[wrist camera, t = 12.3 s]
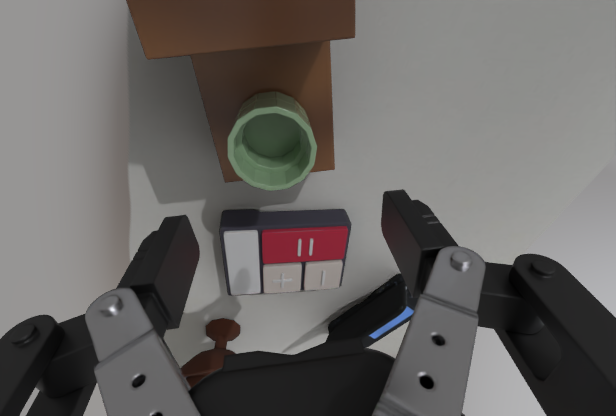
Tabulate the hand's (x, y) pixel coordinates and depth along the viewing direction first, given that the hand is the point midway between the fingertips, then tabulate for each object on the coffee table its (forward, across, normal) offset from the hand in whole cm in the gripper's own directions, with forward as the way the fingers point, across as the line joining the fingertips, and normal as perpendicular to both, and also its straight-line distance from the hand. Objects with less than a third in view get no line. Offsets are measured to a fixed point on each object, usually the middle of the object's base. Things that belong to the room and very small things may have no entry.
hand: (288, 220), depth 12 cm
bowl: (+14, +1, +1) cm, 14 cm away
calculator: (+20, +2, +18) cm, 27 cm away
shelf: (+20, +1, -3) cm, 20 cm away
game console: (+20, -10, +33) cm, 40 cm away
